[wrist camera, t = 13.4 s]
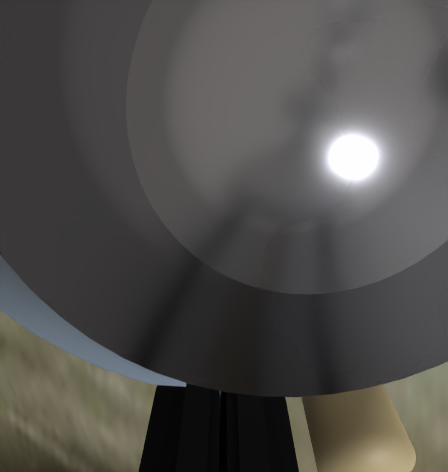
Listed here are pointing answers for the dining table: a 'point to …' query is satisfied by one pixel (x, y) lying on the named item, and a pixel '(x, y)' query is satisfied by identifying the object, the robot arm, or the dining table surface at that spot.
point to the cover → (233, 184)
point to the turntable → (316, 407)
